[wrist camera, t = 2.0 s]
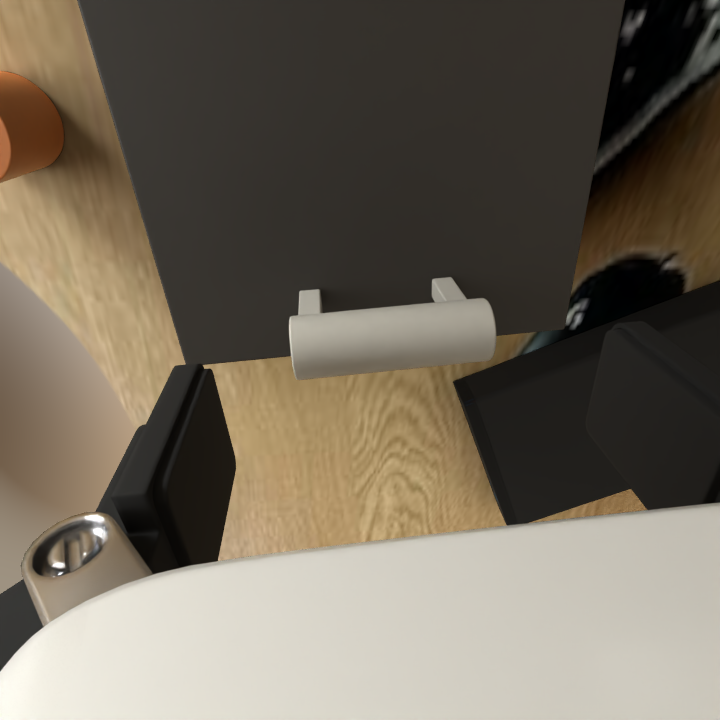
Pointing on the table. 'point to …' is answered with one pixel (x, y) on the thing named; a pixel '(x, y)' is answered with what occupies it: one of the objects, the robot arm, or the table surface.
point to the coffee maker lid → (358, 169)
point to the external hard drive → (566, 410)
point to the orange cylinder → (26, 127)
